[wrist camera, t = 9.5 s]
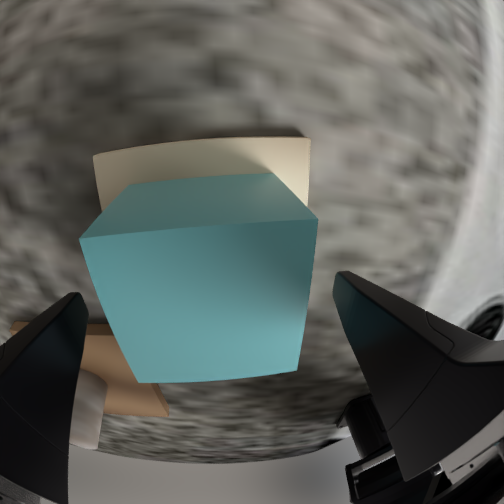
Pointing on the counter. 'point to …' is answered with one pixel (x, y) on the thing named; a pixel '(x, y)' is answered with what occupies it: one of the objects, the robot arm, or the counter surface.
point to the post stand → (106, 387)
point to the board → (204, 162)
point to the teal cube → (204, 276)
